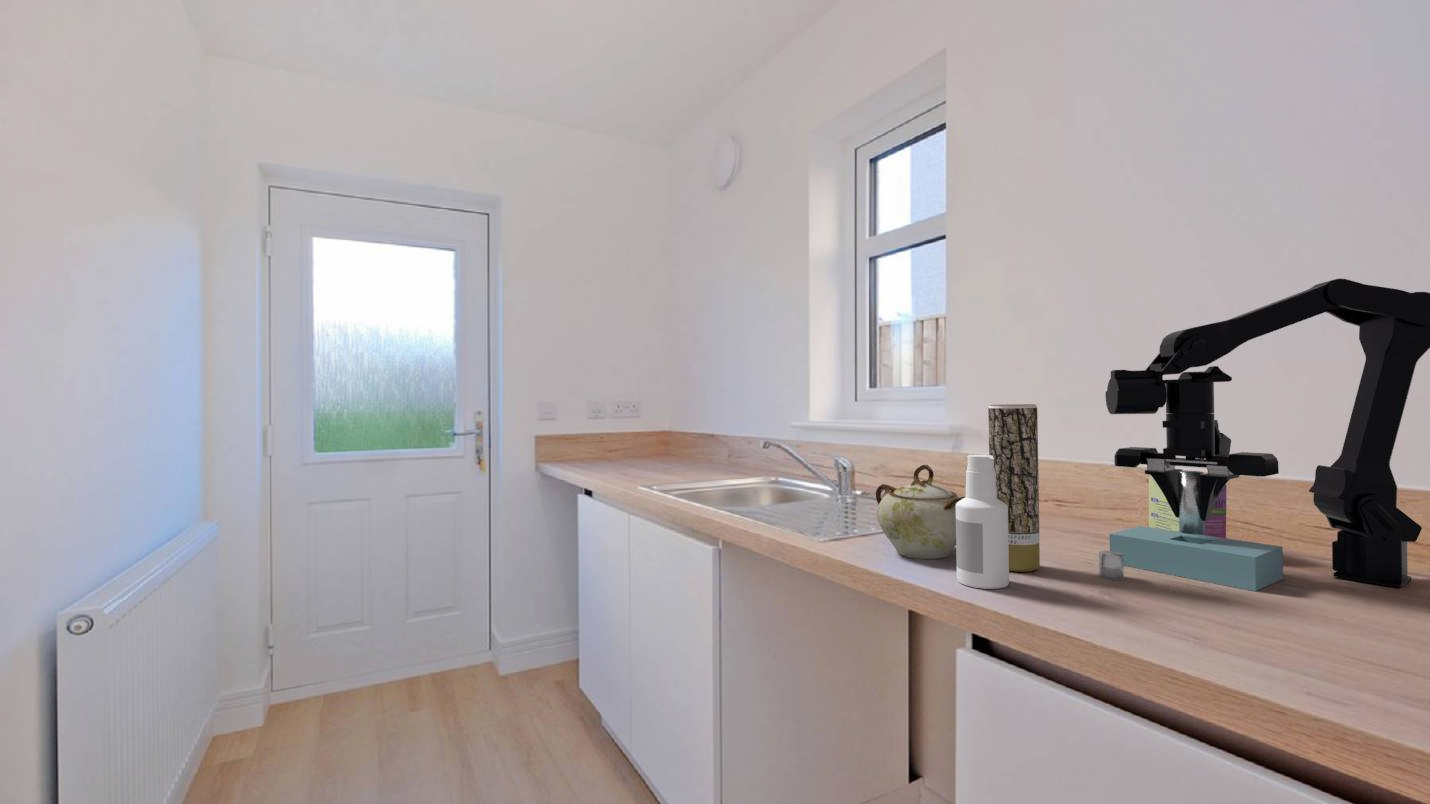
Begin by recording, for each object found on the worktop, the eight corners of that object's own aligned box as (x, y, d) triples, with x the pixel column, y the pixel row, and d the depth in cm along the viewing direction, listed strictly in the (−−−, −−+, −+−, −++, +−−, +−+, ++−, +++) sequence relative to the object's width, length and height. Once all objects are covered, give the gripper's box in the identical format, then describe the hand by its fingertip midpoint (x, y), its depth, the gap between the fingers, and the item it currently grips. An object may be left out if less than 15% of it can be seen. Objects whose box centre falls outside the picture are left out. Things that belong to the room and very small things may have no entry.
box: (1228, 556, 100) (1227, 483, 100) (1191, 557, 100) (1190, 483, 100) (1181, 542, 111) (1180, 475, 110) (1148, 542, 111) (1147, 475, 111)
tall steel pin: (1208, 532, 92) (1207, 471, 92) (1199, 535, 91) (1198, 473, 91) (1184, 529, 95) (1183, 470, 95) (1175, 532, 93) (1174, 471, 93)
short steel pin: (1127, 578, 90) (1127, 553, 90) (1117, 581, 88) (1117, 556, 88) (1105, 573, 92) (1105, 549, 92) (1095, 576, 91) (1094, 552, 91)
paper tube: (1046, 574, 92) (1043, 404, 92) (996, 572, 94) (994, 405, 93) (1032, 562, 99) (1029, 404, 99) (986, 560, 100) (983, 404, 100)
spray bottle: (965, 573, 93) (963, 452, 93) (1014, 581, 89) (1012, 454, 89) (950, 584, 88) (947, 456, 88) (1001, 593, 84) (999, 458, 84)
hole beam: (1282, 578, 88) (1282, 546, 88) (1255, 591, 83) (1255, 557, 83) (1140, 553, 103) (1140, 525, 103) (1109, 562, 98) (1109, 533, 98)
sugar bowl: (1003, 557, 102) (1001, 465, 102) (948, 573, 94) (946, 473, 93) (903, 537, 118) (902, 457, 118) (849, 549, 110) (847, 463, 110)
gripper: (1291, 412, 89) (1293, 522, 89) (1145, 411, 105) (1147, 504, 105) (1262, 414, 83) (1264, 532, 83) (1111, 413, 99) (1113, 512, 99)
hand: (1191, 518), depth 93 cm, fingers closed on tall steel pin, 3 cm apart
